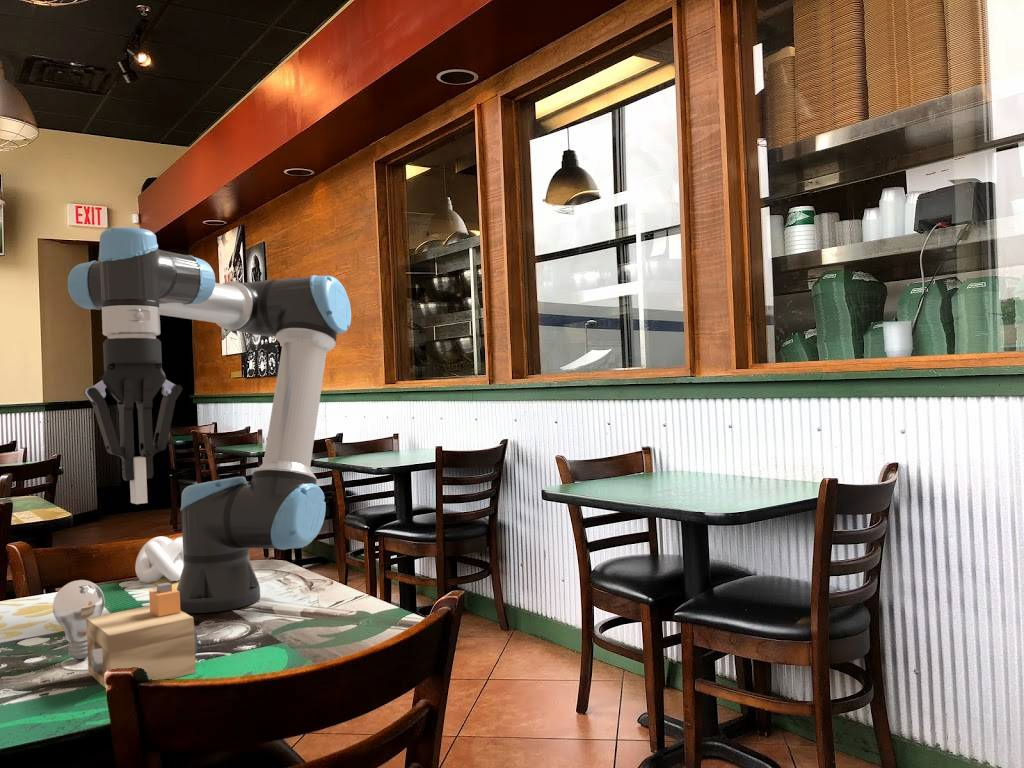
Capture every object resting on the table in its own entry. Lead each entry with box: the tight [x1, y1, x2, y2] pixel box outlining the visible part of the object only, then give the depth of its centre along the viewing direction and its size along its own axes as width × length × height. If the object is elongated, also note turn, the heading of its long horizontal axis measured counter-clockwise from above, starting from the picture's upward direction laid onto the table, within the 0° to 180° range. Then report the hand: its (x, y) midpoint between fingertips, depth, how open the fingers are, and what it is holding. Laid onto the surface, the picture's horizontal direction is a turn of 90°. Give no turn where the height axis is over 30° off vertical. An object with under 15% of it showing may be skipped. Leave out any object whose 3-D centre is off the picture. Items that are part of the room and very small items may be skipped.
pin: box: [91, 625, 199, 672], centre depth 116 cm, size 5×13×5 cm, turn 131°
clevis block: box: [86, 605, 197, 688], centre depth 115 cm, size 12×11×8 cm
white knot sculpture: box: [134, 535, 184, 584], centre depth 174 cm, size 11×12×9 cm
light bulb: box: [52, 579, 106, 662], centre depth 122 cm, size 7×7×12 cm
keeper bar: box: [148, 582, 180, 617], centre depth 118 cm, size 4×3×4 cm
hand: (139, 502), depth 116 cm, fingers closed
